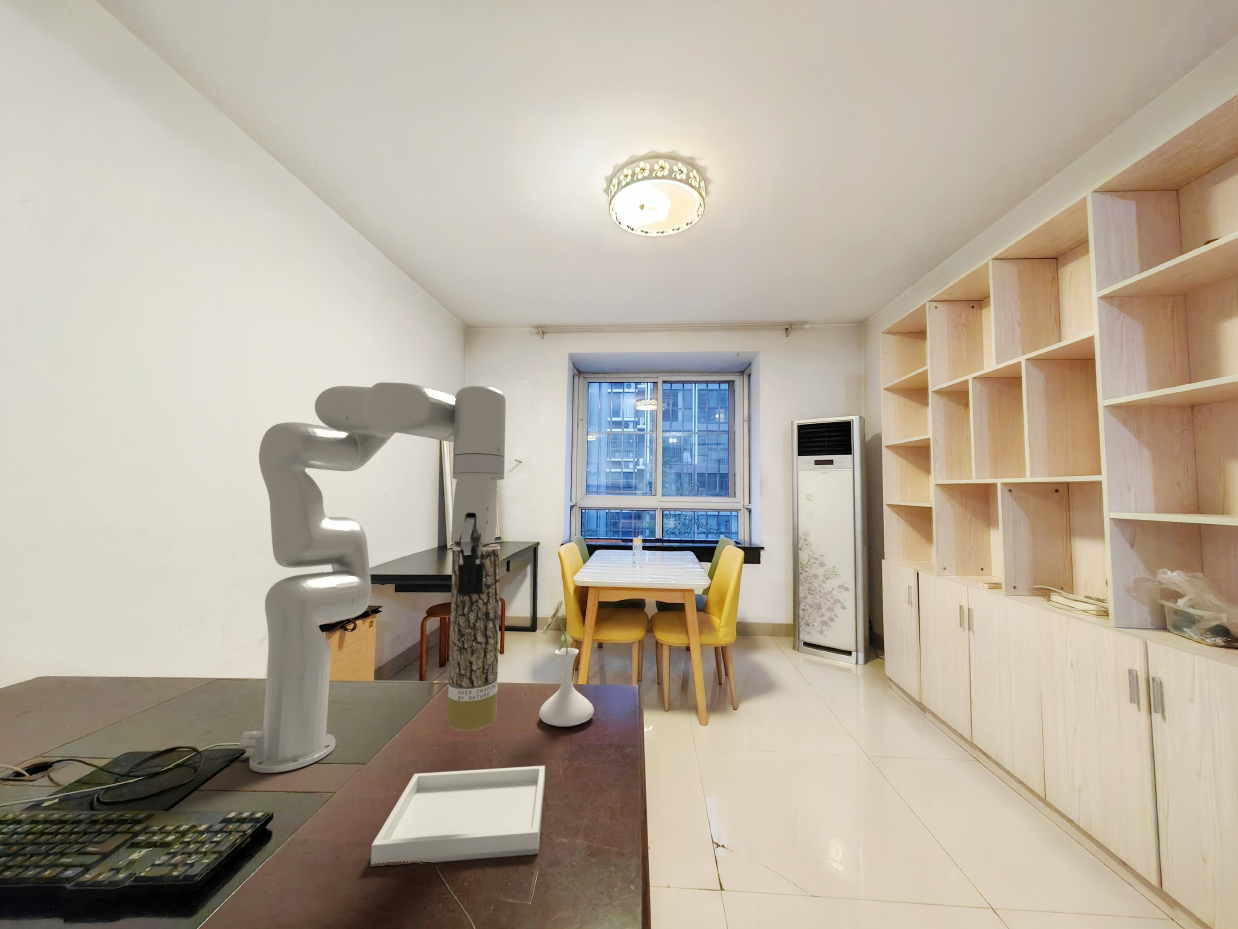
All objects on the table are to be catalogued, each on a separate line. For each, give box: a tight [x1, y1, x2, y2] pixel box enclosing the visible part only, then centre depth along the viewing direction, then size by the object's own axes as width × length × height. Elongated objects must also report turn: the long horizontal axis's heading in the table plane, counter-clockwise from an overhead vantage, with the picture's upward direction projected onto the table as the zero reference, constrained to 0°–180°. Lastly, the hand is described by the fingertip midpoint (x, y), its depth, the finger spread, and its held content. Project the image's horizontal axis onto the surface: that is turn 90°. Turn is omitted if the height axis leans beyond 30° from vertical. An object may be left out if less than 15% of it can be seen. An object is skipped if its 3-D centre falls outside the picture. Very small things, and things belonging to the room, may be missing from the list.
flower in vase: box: [538, 599, 595, 727], centre depth 98 cm, size 13×11×25 cm
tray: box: [370, 765, 546, 865], centre depth 66 cm, size 20×16×2 cm
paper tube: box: [447, 543, 501, 732], centre depth 68 cm, size 7×7×25 cm
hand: (475, 588), depth 69 cm, fingers closed on paper tube, 6 cm apart
